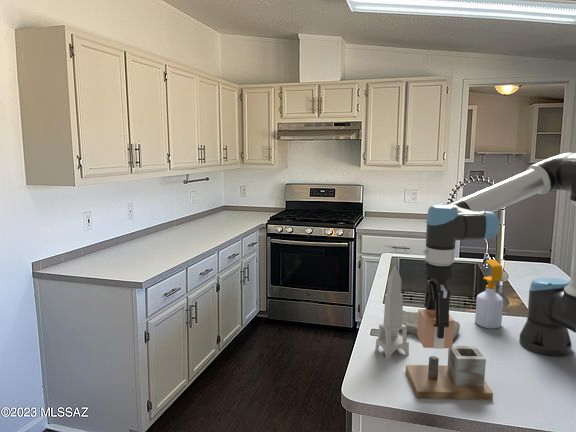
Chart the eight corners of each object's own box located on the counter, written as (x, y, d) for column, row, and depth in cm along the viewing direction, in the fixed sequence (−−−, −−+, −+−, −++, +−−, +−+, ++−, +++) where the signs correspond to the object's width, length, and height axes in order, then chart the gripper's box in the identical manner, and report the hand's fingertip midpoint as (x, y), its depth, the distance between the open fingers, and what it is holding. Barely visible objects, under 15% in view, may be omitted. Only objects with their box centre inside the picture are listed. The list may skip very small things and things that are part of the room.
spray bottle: (489, 317, 170) (494, 256, 166) (506, 327, 161) (512, 263, 157) (469, 320, 168) (474, 258, 163) (486, 330, 159) (491, 265, 155)
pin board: (473, 372, 131) (475, 341, 129) (492, 399, 117) (495, 365, 116) (405, 370, 132) (407, 340, 130) (417, 398, 118) (418, 364, 117)
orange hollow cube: (443, 335, 126) (445, 309, 125) (452, 348, 119) (454, 320, 117) (416, 335, 126) (418, 309, 125) (423, 347, 119) (425, 320, 118)
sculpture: (375, 349, 146) (377, 262, 140) (396, 345, 149) (399, 259, 143) (386, 358, 139) (390, 268, 134) (408, 354, 142) (412, 265, 137)
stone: (463, 321, 158) (450, 336, 146) (462, 332, 159) (449, 348, 147) (395, 305, 173) (379, 317, 161) (395, 315, 174) (379, 328, 162)
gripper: (416, 252, 129) (412, 325, 133) (435, 273, 109) (430, 358, 113) (441, 252, 128) (437, 325, 132) (466, 273, 108) (460, 359, 112)
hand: (434, 340), depth 123 cm, fingers closed on orange hollow cube, 8 cm apart
